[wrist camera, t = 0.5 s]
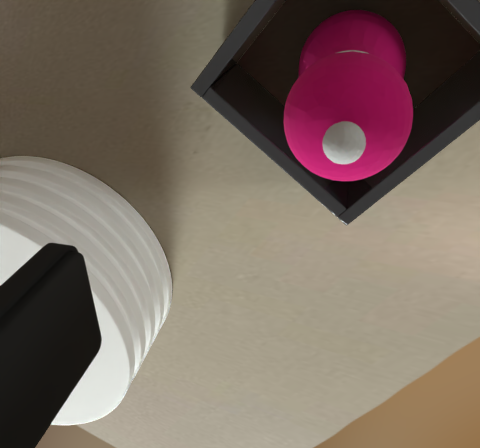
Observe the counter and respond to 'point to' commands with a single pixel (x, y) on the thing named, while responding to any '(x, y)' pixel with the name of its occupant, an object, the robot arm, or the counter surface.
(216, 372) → the counter surface
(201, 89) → the open box
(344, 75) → the pepper mill
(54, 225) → the plate stack
